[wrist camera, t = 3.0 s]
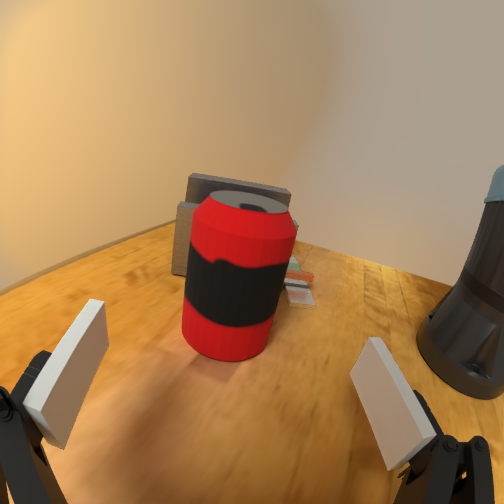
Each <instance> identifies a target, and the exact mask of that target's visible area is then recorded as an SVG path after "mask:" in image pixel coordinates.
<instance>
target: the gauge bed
mask: <svg viewBox="0 0 504 504" xmlns="http://www.w3.org/2000/svg"><path fill="white" fill-rule="evenodd" d="M215 191H239V192H246V193H251V194H256V195H260V196H264V197H267V198H271V199H273V200H276V201H278V202H281V203H282V204H284V205H286V206H287V207H289V203H290V198H291V193H290V192H289V191H288V190H287V189H284V188H279V187H274V186H268V185H263V184H257V183H252V182H247V181H241V180H235V179H229V178H223V177H217V176H210V175H204V174H197V173H192V174H191V175H190V176H189V178H188V186H187V192H186V199H185V202H189V203H195V204H201V203H202V202H203V201H204V200H205V199H206V198H207V197H208V196H210V193H212V192H215ZM288 269H289V270H296V271H301V269H300V266H299V264H298V263H297V261H296V259H295V257H291V258H290V261H289V265H288ZM283 287H284V290H285V294H286V297H287V300H288V304H289V307H298V308H307V309H315V307H316V303H315V301H314V299H313V297H312V294H311V292H310V290H309V286H308V285H307V283H306V281H302V280H295V279H288V278H285V280H284V284H283Z"/></svg>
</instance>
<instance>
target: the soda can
mask: <svg viewBox="0 0 504 504" xmlns="http://www.w3.org/2000/svg"><path fill="white" fill-rule="evenodd" d="M296 234H297V229H296V227H295V224H294V222H293V220H292V218H291V216H290V213H289V211H288V207H287V206H286V205H284V204H282V203H281V202H278V201H276V200H273V199H271V198H267V197H264V196H260V195H256V194H251V193H246V192H239V191H215V192H212V193H210V196H208V197H207V198H206V199H205V200H204V201H203V202H202V203H201V204H200V205H199V206H198V207H197V208H196V209H195V210H194V212H193V219H192V227H191V235H190V243H189V252H188V261H187V271H186V281H185V291H184V303H183V315H182V333H183V336H184V338H185V339H186V341H187V342H188V344H189V345H191V346H192V347H193V348H194V349H195V350H196V351H198V352H199V353H201V354H202V355H204V356H207V357H209V358H212V359H215V360H219V361H240V360H245V359H247V358H250V357H253V356H255V355H256V354H258V353H259V352H260V351H261V350H262V349H263V348H264V346H265V345H266V342H267V339H268V335H269V332H270V329H271V325H272V322H273V318H274V315H275V311H276V308H277V304H278V301H279V297H280V294H281V290H282V286H283V283H284V279H285V276H286V272H287V268H288V264H289V261H290V257H291V253H292V249H293V246H294V242H295V238H296Z"/></svg>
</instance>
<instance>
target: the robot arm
mask: <svg viewBox="0 0 504 504" xmlns="http://www.w3.org/2000/svg"><path fill="white" fill-rule="evenodd" d="M484 203H486V205H485V208H484V212H483V215H482V218H481V221H480V224H479V227H478V230H477V233H476V236H475V239H474V242H473V244H472V247H471V250H470V252H469V255H468V257H467V260H466V262H465V265H464V268H463V270H462V272H461V275H460V277H459V279H458V281H457V283H456V284H455V285H454V286H453V288H452V289H451V290H450V291H449V292H448V293H447V294H446V295H445V297H444V298H443V299H442V300H441V301H440V302H439V303H438V304H437V306H436V307H435V308H434V309H433V310H432V311H431V312H430V313H429V314H428V315H427V316H426V318H425V320H424V321H423V323H422V325H421V327H420V329H419V331H418V334H417V343H418V347H419V350H420V352H421V354H422V356H423V357H424V359H425V361H426V362H427V363H428V365H429V366H430V367H431V368H432V369H433V371H434V372H435V373H436V374H437V375H438V376H439V377H440V378H442V379H443V380H444V381H445V382H446V383H448V384H449V385H450V386H452V387H453V388H455V389H457V390H458V391H460V392H462V393H464V394H466V395H469V396H471V397H474V398H478V399H494V398H497V397H499V396H500V395H501V394H502V393H503V392H504V165H502V166H500V167H499V168H498V169H497V170H496V171H495V173H494V175H493V179H492V182H491V185H490V189H489V192H488V195H487V198H485V200H484ZM108 347H109V340H108V332H107V323H106V314H105V303H104V302H103V301H99V300H95V299H90V300H89V301H88V302H87V304H86V305H85V307H84V308H83V309H82V311H81V312H80V313H79V315H78V316H77V318H76V319H75V320H74V322H73V323H72V325H71V326H70V328H69V329H68V331H67V332H66V333H65V335H64V336H63V338H62V339H61V341H60V342H59V344H58V345H57V347H56V348H55V350H54V351H53V353H50V352H47V351H44V350H43V351H41V352H40V353H38V354H37V355H36V356H34V358H33V359H32V361H31V362H30V364H29V366H28V367H27V368H26V370H25V371H24V374H22V376H21V377H20V379H19V381H18V382H17V384H16V385H15V387H14V389H13V390H12V392H11V394H9V392H8V391H7V390H6V389H5V388H4V387H2V386H0V504H9V499H8V493H7V486H6V482H7V485H8V488H9V490H10V493H11V496H12V498H13V501H14V503H15V504H68V503H67V501H66V499H65V497H64V495H63V493H62V491H61V489H60V487H59V485H58V483H57V480H56V478H55V476H54V474H53V471H52V469H51V467H50V464H49V462H48V459H47V457H46V454H45V452H44V449H43V446H42V444H41V440H42V438H43V437H44V438H45V440H46V441H47V442H48V443H49V444H51V445H53V446H56V447H58V448H60V449H63V450H64V449H65V447H66V444H67V441H68V438H69V436H70V433H71V431H72V428H73V426H74V423H75V421H76V418H77V416H78V413H79V411H80V408H81V406H82V404H83V401H84V399H85V397H86V394H87V392H88V390H89V387H90V385H91V383H92V381H93V379H94V376H95V374H96V372H97V370H98V368H99V366H100V363H101V361H102V359H103V357H104V355H105V353H106V351H107V349H108ZM349 374H350V377H351V379H352V381H353V384H354V386H355V388H356V391H357V393H358V396H359V398H360V401H361V403H362V406H363V408H364V410H365V413H366V415H367V418H368V420H369V423H370V425H371V428H372V431H373V433H374V436H375V438H376V441H377V443H378V446H379V449H380V451H381V454H382V457H383V459H384V462H385V465H386V467H387V470H388V471H390V470H394V469H397V468H401V467H402V466H403V465H404V464H406V463H407V462H408V461H409V463H410V466H409V467H408V468H406V469H405V470H404V471H403V472H402V473H400V474H399V476H398V477H397V478H400V477H401V476H403V475H404V474H405V475H404V477H403V478H402V480H403V481H402V483H401V486H400V488H399V491H398V493H397V496H396V498H395V501H394V503H393V504H495V501H494V485H493V474H492V466H491V458H490V452H489V446H488V443H487V441H486V440H485V439H484V438H483V437H481V436H474V437H473V438H472V439H471V440H470V441H469V442H458V441H457V440H456V439H455V438H454V437H453V436H451V435H444V433H443V432H442V430H441V428H440V426H439V424H438V423H437V421H436V419H435V417H434V415H433V414H432V412H431V410H430V408H429V407H428V406H427V403H426V401H425V400H424V398H423V396H422V395H421V394H420V393H418V392H417V391H416V390H412V389H411V387H410V385H409V384H408V382H407V380H406V378H405V377H404V375H403V373H402V372H401V370H400V368H399V367H398V365H397V363H396V362H395V360H394V358H393V357H392V355H391V353H390V352H389V350H388V348H387V347H386V345H385V344H384V342H383V340H382V339H381V337H369V338H368V340H367V342H366V344H365V346H364V348H363V350H362V351H361V353H360V355H359V357H358V359H357V361H356V363H355V364H354V366H353V368H352V370H351V372H350V373H349ZM465 472H466V477H465V478H464V479H462V474H464V473H465Z"/></svg>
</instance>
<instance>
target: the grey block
mask: <svg viewBox="0 0 504 504" xmlns="http://www.w3.org/2000/svg"><path fill="white" fill-rule="evenodd" d="M199 205H200V204H195V203H189V202H182V201H181V202H180V203H179V205H178V206H177V215H176V224H175V234H174V244H173V255H172V268H171V273H172V274H178V275H184V276H186V271H187V261H188V252H189V243H190V235H191V227H192V219H193V212H194V210H195V209H196V208H197V207H198V206H199ZM293 222H294V224H295V227H296V229H297V230H298V227H299V226H298V224H297V222H296V221H295V220H293ZM292 250H293V249H292ZM291 254H292V253H291ZM290 258H291V257H290ZM288 265H289V264H288ZM313 277H314V275H313V273H309V272H302V271H296V270H289V269H288V268H287V272H286V276H285V278H288V279H295V280H302V281H310V282H312V281H313ZM284 280H285V279H284ZM283 284H284V283H283ZM282 287H283V286H282Z"/></svg>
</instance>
